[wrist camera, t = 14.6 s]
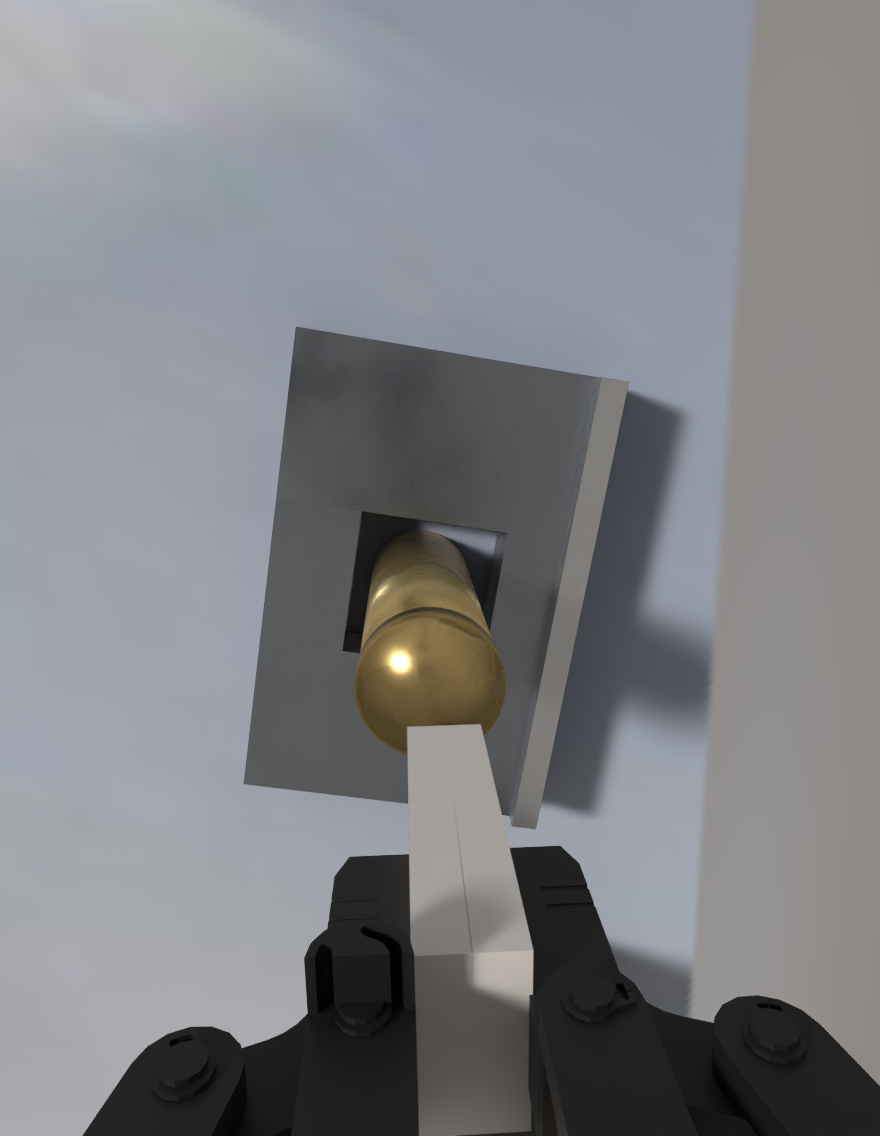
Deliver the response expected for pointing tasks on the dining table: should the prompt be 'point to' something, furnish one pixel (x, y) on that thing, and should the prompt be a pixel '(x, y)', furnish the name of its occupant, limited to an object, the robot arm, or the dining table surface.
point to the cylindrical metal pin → (425, 644)
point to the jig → (438, 494)
